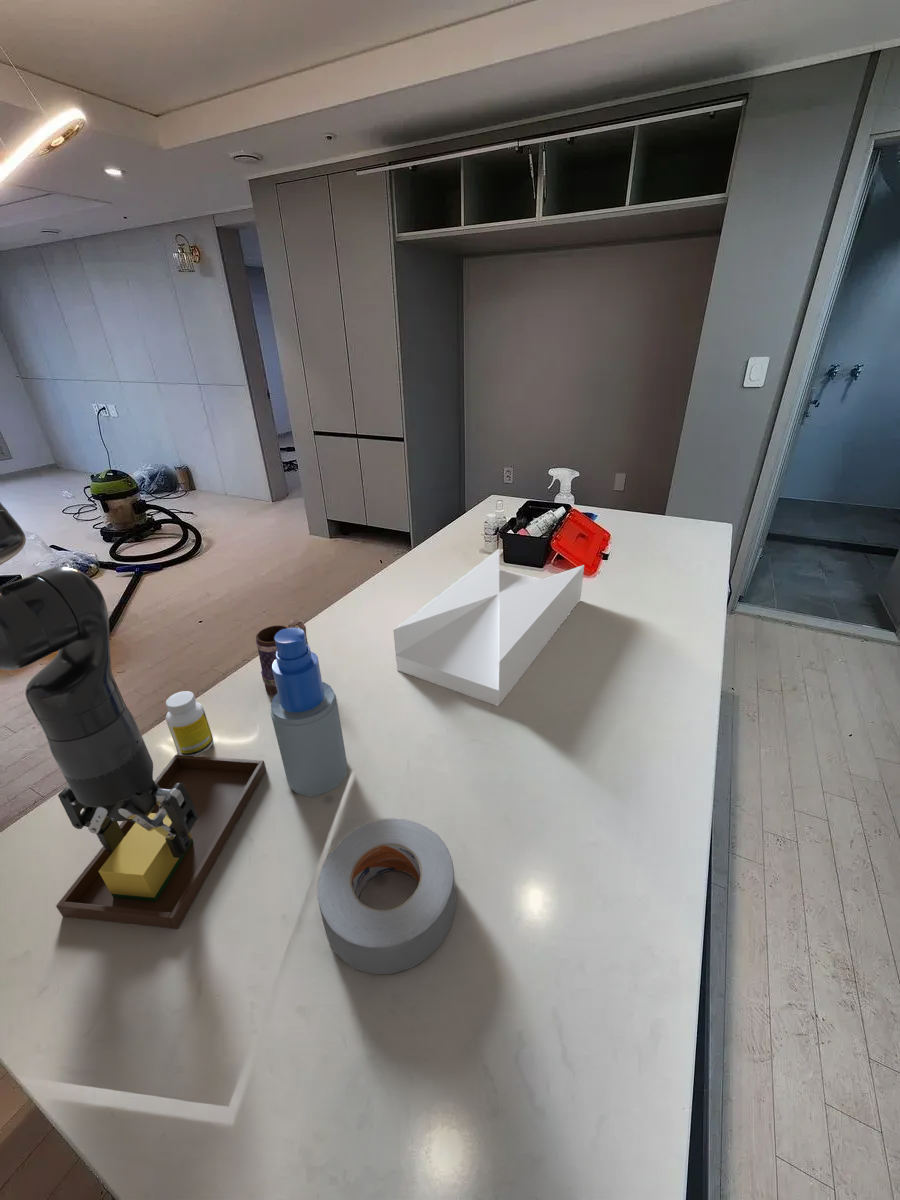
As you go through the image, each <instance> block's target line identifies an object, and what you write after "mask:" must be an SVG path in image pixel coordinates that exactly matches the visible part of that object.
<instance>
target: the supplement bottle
mask: <svg viewBox="0 0 900 1200" xmlns="http://www.w3.org/2000/svg"><path fill="white" fill-rule="evenodd" d="M165 706H166V709H167V713H166V715H165V721H166V724H167V728H168V729H169V732H170V735H171V738H172V740H173V744H174V746H175V749H176V752H177V754H178V755H185V756H198V755H200V754H202V753H204V752H205V751H207V750H210V748H211V747H212V746H213V743H214V736H213V733H212V731H211V727H210V724H209V720H208V718H207V715H206V712H205V709H204V706H203V705H202V704H201V703H200V702H198V701H197V700H196V696H195V694H194V693H193V692H192V691H189V690H183V691H178V692H175V693H173V694H171V695H170V696H169V697H168V698H167V699H166V701H165Z"/></svg>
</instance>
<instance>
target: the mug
mask: <svg viewBox="0 0 900 1200" xmlns="http://www.w3.org/2000/svg"><path fill="white" fill-rule="evenodd" d="M297 627H298V628H300V629H302V630H303V631H304V632H305V637H306V643H307V645H309V642H308V637H307V627H306V625H305V623H304V622H303V621H302V619H301V618H293V619H292V620H290V622H289V623H288V625H287V626H285V625H270V626H267V627H265V628H263V629H261V630H259V631H258V632H257V633H256V635H255V645H256V648H257V652H258V657H259V662H260V667H261V668H260V669H261V672H260V673H261V678H262V681H263V683H264V688H265V691H266V693H267V694H269V695H271V696H273V697H274V696H275V695H276V694H277V688H276V684H275V680H274V675H273V671H272V664H273V662H274V661H275V660H276V651H277V648H276V644H275V639H274V637H275V635H276V633H277V632H279V631H280V630H282V629H286V628H297Z"/></svg>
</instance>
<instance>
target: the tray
mask: <svg viewBox="0 0 900 1200" xmlns="http://www.w3.org/2000/svg"><path fill="white" fill-rule="evenodd" d="M266 772H267V767H266V764H265V761H264V760H259V759H258V760H256V759H244V758H243V759H241V758H229V757H228V758H227V757H214V756H213V757H212V756H200V755H199V756H198V755H194V756H185V755H180V754H175V755H173V757H172V758H171V760H170V761H169V762H168V763H167V765H166V766H165V767H164V769H163V770H162V771H161V773H159V775H158V776H157V777H156V779H155V780H154V782H155V783H156V784H157V785H158V786H160V788H161V789H172V788H173V787H174V785H175V784H176V783H180V784H182V785H184V786H185V788H186V790H187V793H188V795H189V797H190V799H191V801H192V803H193V805H194V807H195V809H196V812H197V814H198V816H199V818H198V819H197V821H196V822H195V824H194V826H193V827H192V829H191V830H190V834H191V836H192V839H193V843H192V845H191V847H190V848H189V850H188V851H187V853H186V855H185V856H184V858H183V859H182V861H181V863H180V864H179V866H178V867H177V869H176V871H175V872H174V874H173V875H172V877H171V879H170V880H169V882H168V884H167V885H166V887H165V888H164V890H163V892H162V893H161V895H160V896H159V898H158V900H157V901H156V902H152V901H143V900H133V899H123V898H113V896H112V894H111V893H110V891H109V889H108V888H107V886H106V884H105V882H104V880H103V879H102V877H101V875H100V873H99V870H100V868H101V867H102V866H103V865H104V863H105V862H106V861H107V859H108V858H109V857H110V855H111V854H112V853H110V852H107V851H106V849H105V847H104V846H103V845H102V846H101V848H100V850H99V851H98V852H97V853H96V855H95V856H94V857H93V858H92V860H91V861H90V862H89V864H87V866H86V868H85V869H84V870H83V871H82V872H81V874H80V875H79V876H78V877H77V879H76V880H75V881H74V882H73V884H72V885H71V886H70V887H69V888H68V890H67V891H66V893H65V894H64V895H63V897H62V898H61V899H60V900H59V901H58V903H57V904H55V908H56V909H57V910H58V913H60V915H61V917H63V918H71V919H80V920H89V921H97V922H98V921H99V922H107V923H117V924H126V925H135V926H145V927H154V928H164V929H173V930H179V929H180V927H181V925H182V923H183V922H184V920H185V918H186V916H187V914H188V913H189V911H190V909H191V907H192V905H193V903H194V902H195V900H196V898H197V896H198V894H199V893H200V891H201V889H202V888H203V886H204V883H205V882H206V880H207V878H208V877H209V875H210V873H211V871H212V869H213V868H214V866H215V865H216V863H217V860H218V859H219V857H220V855H221V853H222V851H223V850H224V848H225V846H226V844H227V843H228V841H229V839H230V837H231V836H232V833H233V832H234V830H235V828H236V826H237V824H238V823H239V821H240V819H241V817H242V816H243V814H244V812H245V811H246V808H247V806H248V805H249V803H250V801H251V800H252V798H253V796H254V794H255V793H256V790H257V789H258V787H259V785H260V783H261V782H262V780H263V778H264V776H265V774H266ZM158 811H159V806H158V805H157V804H156V805H155V807H154V809H153V810H152V811H151V813H155V814H157V813H158ZM135 823H136V822H130V821H121V823H120V824H119V826H120V828H121V830H122V832H123V834H124V836H126V834H127V833H128V832H129V830H130V829H131V828H132V827H133V825H134V824H135Z"/></svg>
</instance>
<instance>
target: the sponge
mask: <svg viewBox="0 0 900 1200" xmlns="http://www.w3.org/2000/svg"><path fill="white" fill-rule="evenodd" d="M155 816H156V814H155V813H150V814H149V815H148V817H149V818H150V819H152V820H153V818H154V817H155ZM163 823H164V824H166V825H167V826H168V827H169V826H170V825H171V823H172V822H171V820H170V819H169V818H168V817H167V816H166V817H165V818H164V819H163ZM189 837H190V839H191V844H190V845H189V847H188V848H187V850H186V852H185V853H184V854H183V855H182V857H181V858H174V857H173V855H172V853H171V851H170V849H169V846H168V844H167V842H166V840H165V838H166V837H164V836H163V835H161V834H160V833H159V832H157V831H156V830H153V831H148V830H146V829H145V828H143V827H142V826H141V825H139V824H138V823H135V824H134V825H133V827H132V828H131V829H130V830H129V832H128V833H127V834H126V836H125V837H124V838H123V840H122V841H121V842H120V844H119V845H118V846H117V847H116V849H115V850H114V851H113V853H112V854H111V855H110V857H109V858H108V859H107V861H106V862H105V863H104V865H103V866H102V867H101V868H100V870H99V873H100V875H101V877H102V879H103V880H104V882H105V884H106V886H107V888H108V889H109V891H110V893H111V894H112V896H113V898H123V899H133V900H143V901H152V902H156V901H157V900H158V898H159V896H160V895H161V893H162V892H163V890H164V888H165V887H166V885H167V884H168V882H169V880H170V879H171V877H172V875H173V874H174V872H175V871H176V869H177V867H178V866H179V864H180V863H181V861H182V859H183V858H184V856H185V855H186V853H187V851H188V850H189V848H190V847H191V845H192V843H193V839H192V836H191V834H190V832H189Z"/></svg>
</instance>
